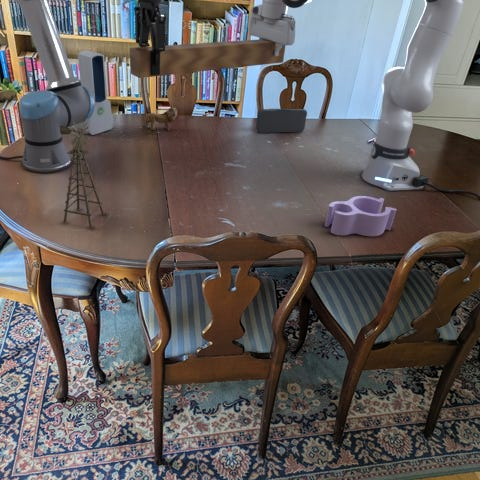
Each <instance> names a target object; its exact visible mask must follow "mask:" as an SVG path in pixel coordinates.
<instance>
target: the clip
mask: <svg viewBox="0 0 480 480" xmlns="http://www.w3.org/2000/svg"><path fill="white" fill-rule="evenodd" d="M384 201H385V198H383V197H379V198H376V197H373V196H368V195H357V196H352V197H350V198H349V200H347V201H339V200H338V201H337V200H335V201H332V202H330V203H329V205H328V208H327V214H326V218H325V222H324V227H326V228H329V227H330V226H331V227H330V233H331V234H333V235H336V236H348V235H353V234H356V235H360V236H364V237H365V236H366V237H378V236H381V235H382V234H384V232H385V230H387V231H391V229H392V226H393V222H394V219H395V216H396V213H397V210H398V209H397V208H395V207H391V206H385V207H384V211H383V212H382V209H383V206H384Z"/></svg>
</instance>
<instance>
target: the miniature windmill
mask: <svg viewBox="0 0 480 480" xmlns="http://www.w3.org/2000/svg"><path fill="white" fill-rule="evenodd" d="M83 117H84V115H83ZM75 120H76V117H75ZM85 120H86V118H85ZM85 120H84V122H85ZM82 122H83V119H82ZM76 123H77V120H76ZM73 124H74V125H72V126H70V127H64V126H60V125H59V126H60V134H62V135H72V136H70V141H71V142H70V143H71V145H72V149H70V150H69V151H68V152H67V154H69V155H72V159H71V164H70V169H69V170H70V173H69V177H68V180H69V181H68V185H67V192H66V200H65V201H64V203H65V208H64V209H63V212H64V216H63V223H64V224H66V223H67V219H68V213H71V214H76V215H80V216H87V221H88V226H89V229H90V228H93V224H92V218H91V216H92V215H93V214H94V213H95V212H96V211H97V210H98V209H99V210H100V212H101V213H100V214H101V215H102V216H103V215H105V211H104V209H103V206H102V205H103V202H101V199H100V196H99V193H98V191H97V186H96V184H95V182H94V180H93V176H92V172H91V170H90V168H89V165H88V159H87V158H86V155H87V154H89V153H90V152H91V150H90V149H88V148H86V149H83V148H85V146H86V144H87V140H88V139H89V137H88V136H87V135H89V134H88V132H89V131H88V132H83V131H85V130H86V129H88V127H86V128H85V126H86V125H87V122H86V124H85V125H84V123H83V125H84V127H83V125H82V123H81V115H80V126H82V127H83V128H80V127H79V126H78V124H79V116H78V124H75V123H74V121H73ZM73 126H74V127H73ZM84 128H85V129H84ZM80 129H81V130H80ZM83 129H84V130H83ZM83 165H85V168H86V171H84V170H83ZM74 168H76V171H75V173H74ZM85 174H86V175H87V176H85V177H84V175H85ZM75 176H76V177H75ZM80 176H81V177H80ZM87 179H89V180H90V182H91V185H86V183H85V181H86V180H87ZM80 182H81V183H80ZM74 183H76V184H75V186H74V187H73V188H72V185H74ZM80 187H82V190H83V194H80ZM86 188H91V189H92V190H91V191H90V192H88V194H87V189H86ZM75 189H76V192H74V190H75ZM73 192H74V193H73ZM93 192H94V195H95V198H96V200H97V201H94V200H90V199H88V197H89V196H90V195H91V194H93ZM70 195H71V196H70ZM75 196H76V199H75V200H73V201H72V202H71V203H70V200H71V199H72V198H74V197H75ZM80 197H82V198H80ZM83 198H84V199H83ZM80 202H85V208H86V213H83V212H78V211H80V206H81V205H80V204H81V203H80ZM69 203H70V204H69ZM75 203H76V209H77V211H72V210H69V208H70V207H71V206H73V205H74V204H75ZM89 203H93V204H97V206H96V207H95V208H94V209H93V210H92V211H91V212H90V207H89V206H90V205H89Z"/></svg>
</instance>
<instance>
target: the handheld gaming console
mask: <svg viewBox="0 0 480 480" xmlns="http://www.w3.org/2000/svg"><path fill="white" fill-rule="evenodd" d="M307 115H308V112H307V110H306V109H305V108H261V109H258V110H257V113H256V121H255V122H256V123H255V130H256V132H257V133H261V134H266V133H267V134H269V133H300V132H303V131H304V130H305V127H306V119H307Z"/></svg>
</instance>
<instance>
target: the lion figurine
mask: <svg viewBox="0 0 480 480" xmlns="http://www.w3.org/2000/svg"><path fill="white" fill-rule="evenodd" d="M177 117H178V109H177V108H176V107H170V108H168V110H166V111H165V112H163V113H155V112H150V113H149V114H147V116H146V118H145V123H144V125H143V126H142V129H145V128H148V129H150V128H151V130H152V131H156V128H155V127H154V125H155V122H156V123H159V124H164V128H165V129H166V130H167V131H168V132H169V131H171V129H170V124H172V123H173V122H175V120H176V119H177ZM149 124H150V125H149Z"/></svg>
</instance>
